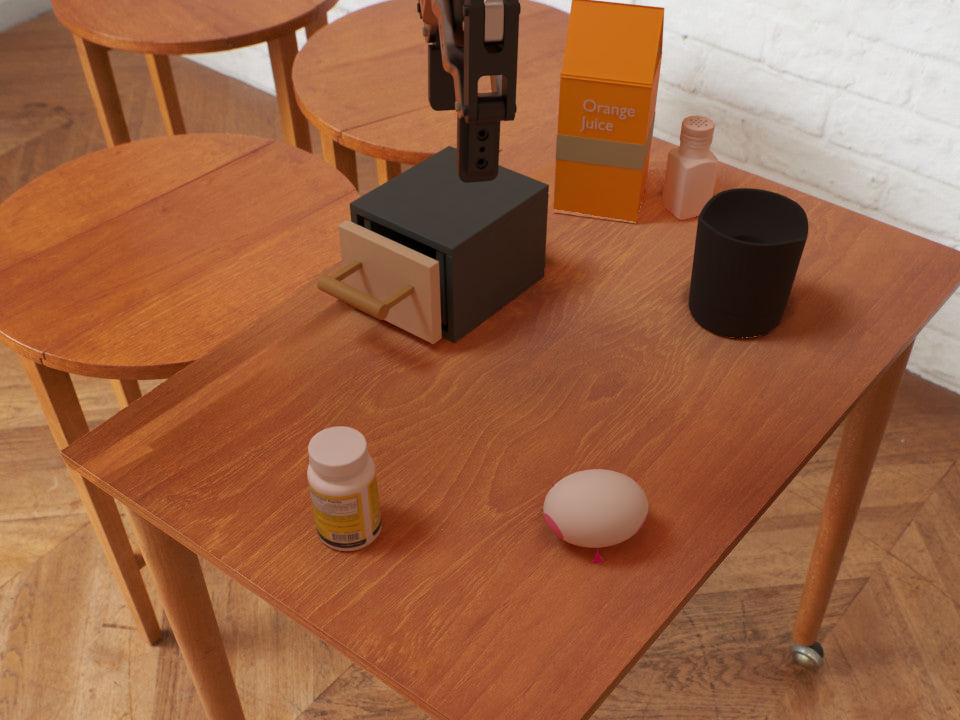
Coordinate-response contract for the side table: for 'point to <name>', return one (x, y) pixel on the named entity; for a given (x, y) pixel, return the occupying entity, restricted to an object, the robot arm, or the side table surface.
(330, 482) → the supplement bottle
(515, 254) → the cabinet
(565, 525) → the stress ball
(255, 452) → the side table surface
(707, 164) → the pepper shaker
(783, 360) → the side table surface
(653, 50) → the orange juice
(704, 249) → the pen holder
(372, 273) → the drawer
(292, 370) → the side table surface
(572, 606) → the side table surface
